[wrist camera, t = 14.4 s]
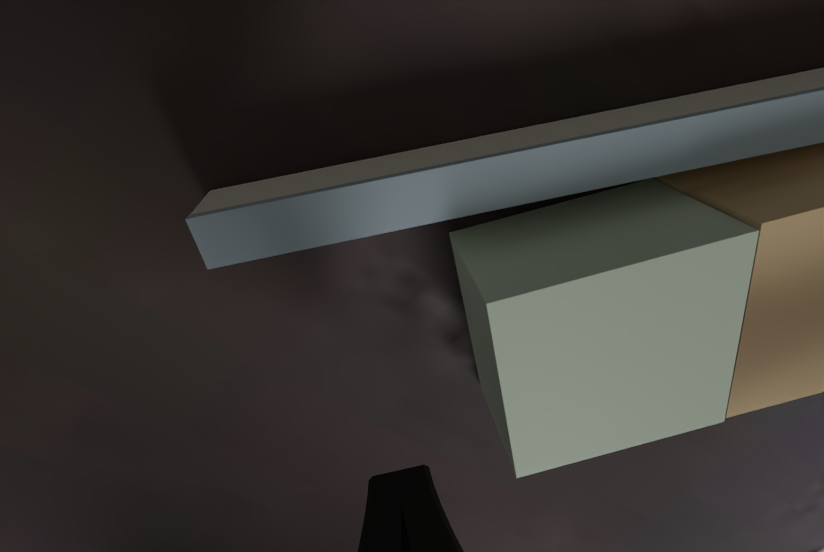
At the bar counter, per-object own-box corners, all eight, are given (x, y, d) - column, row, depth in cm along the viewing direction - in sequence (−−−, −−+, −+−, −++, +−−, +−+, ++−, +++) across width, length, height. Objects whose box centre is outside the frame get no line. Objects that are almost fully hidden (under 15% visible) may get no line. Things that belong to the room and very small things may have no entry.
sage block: (641, 336, 16) (724, 421, 12) (478, 379, 16) (516, 478, 12) (647, 176, 13) (758, 230, 9) (447, 229, 13) (486, 303, 9)
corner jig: (835, 339, 17) (891, 375, 15) (317, 455, 16) (314, 507, 15) (952, 40, 12) (1057, 42, 10) (210, 189, 11) (185, 219, 10)
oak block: (805, 289, 16) (934, 362, 12) (642, 333, 16) (725, 418, 12) (849, 118, 13) (1036, 150, 9) (649, 171, 13) (762, 223, 9)
